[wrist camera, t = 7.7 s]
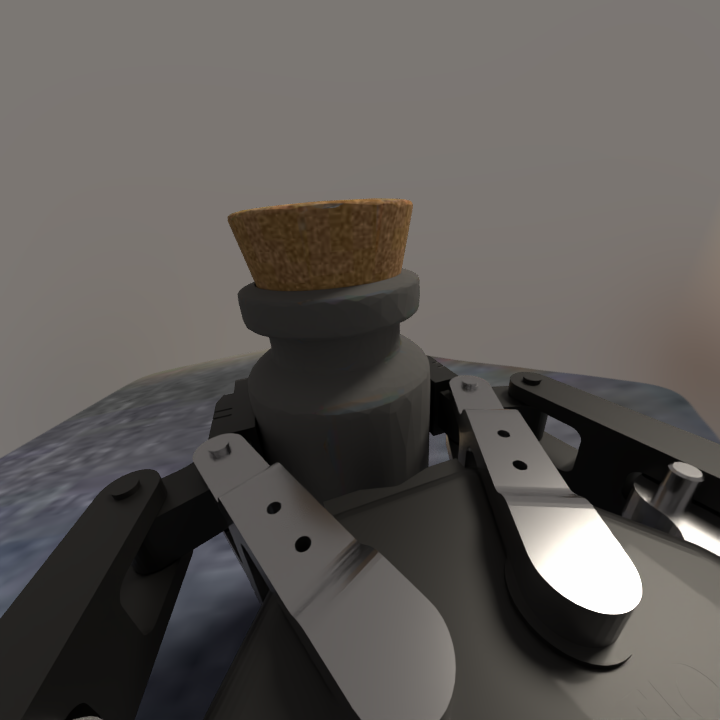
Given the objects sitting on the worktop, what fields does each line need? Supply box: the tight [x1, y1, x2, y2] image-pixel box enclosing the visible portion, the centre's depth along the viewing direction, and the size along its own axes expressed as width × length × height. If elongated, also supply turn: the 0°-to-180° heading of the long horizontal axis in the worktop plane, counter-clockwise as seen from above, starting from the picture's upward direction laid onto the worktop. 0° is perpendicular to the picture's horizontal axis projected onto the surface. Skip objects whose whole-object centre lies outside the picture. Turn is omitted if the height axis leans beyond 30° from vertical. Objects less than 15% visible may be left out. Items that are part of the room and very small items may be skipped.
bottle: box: [228, 199, 430, 507], centre depth 11 cm, size 6×6×15 cm
